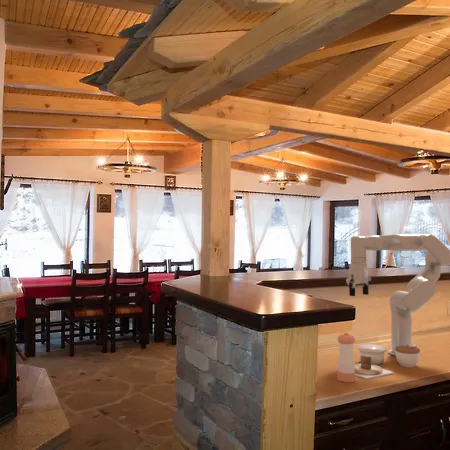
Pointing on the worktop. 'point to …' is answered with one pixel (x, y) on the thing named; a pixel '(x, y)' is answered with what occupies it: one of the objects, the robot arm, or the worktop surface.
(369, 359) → the lid
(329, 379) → the worktop surface
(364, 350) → the mushroom
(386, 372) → the mat
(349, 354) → the pepper shaker
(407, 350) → the lidded jar
